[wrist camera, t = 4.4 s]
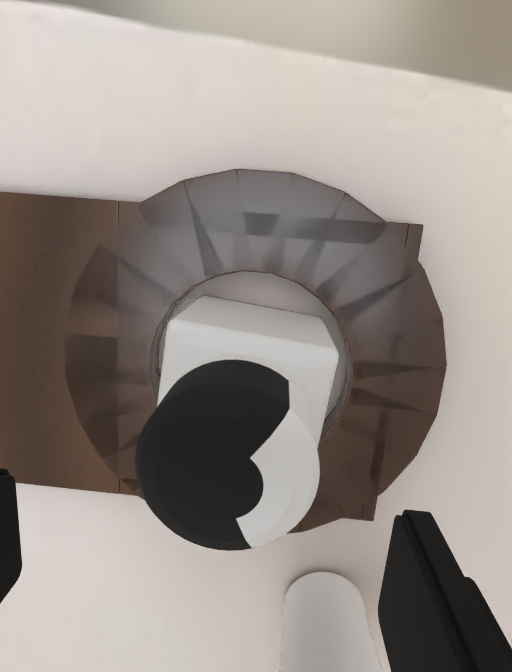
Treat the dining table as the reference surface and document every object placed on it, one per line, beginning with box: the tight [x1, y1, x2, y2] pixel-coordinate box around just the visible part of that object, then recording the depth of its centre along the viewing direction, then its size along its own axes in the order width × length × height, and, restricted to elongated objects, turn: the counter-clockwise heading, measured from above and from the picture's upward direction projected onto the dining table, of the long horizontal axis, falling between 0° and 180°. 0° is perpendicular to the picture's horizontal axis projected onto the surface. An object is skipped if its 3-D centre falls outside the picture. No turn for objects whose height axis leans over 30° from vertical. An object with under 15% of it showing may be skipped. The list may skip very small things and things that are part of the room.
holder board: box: [0, 169, 447, 534], centre depth 24 cm, size 26×21×2 cm
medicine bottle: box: [135, 296, 339, 551], centre depth 19 cm, size 7×7×12 cm
